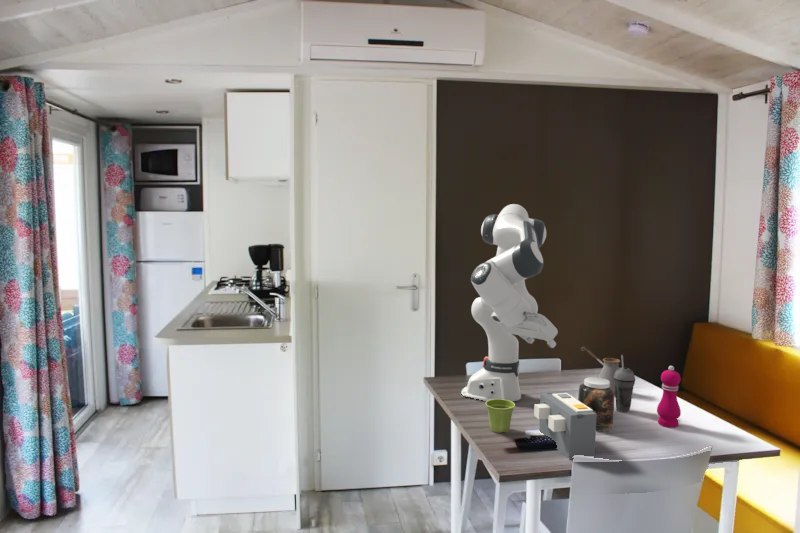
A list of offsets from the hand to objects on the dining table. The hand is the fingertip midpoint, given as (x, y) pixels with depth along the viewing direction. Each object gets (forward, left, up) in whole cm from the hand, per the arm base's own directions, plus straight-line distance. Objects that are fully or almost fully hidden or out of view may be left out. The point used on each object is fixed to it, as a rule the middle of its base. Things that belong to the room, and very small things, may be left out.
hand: (542, 343), depth 172 cm
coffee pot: (+16, +73, -33) cm, 82 cm away
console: (+7, +10, -33) cm, 35 cm away
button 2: (+5, +3, -26) cm, 26 cm away
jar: (+15, +31, -33) cm, 48 cm away
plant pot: (-14, +15, -33) cm, 39 cm away
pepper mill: (+38, +40, -33) cm, 64 cm away
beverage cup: (+24, +49, -33) cm, 64 cm away
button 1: (0, +12, -26) cm, 28 cm away
